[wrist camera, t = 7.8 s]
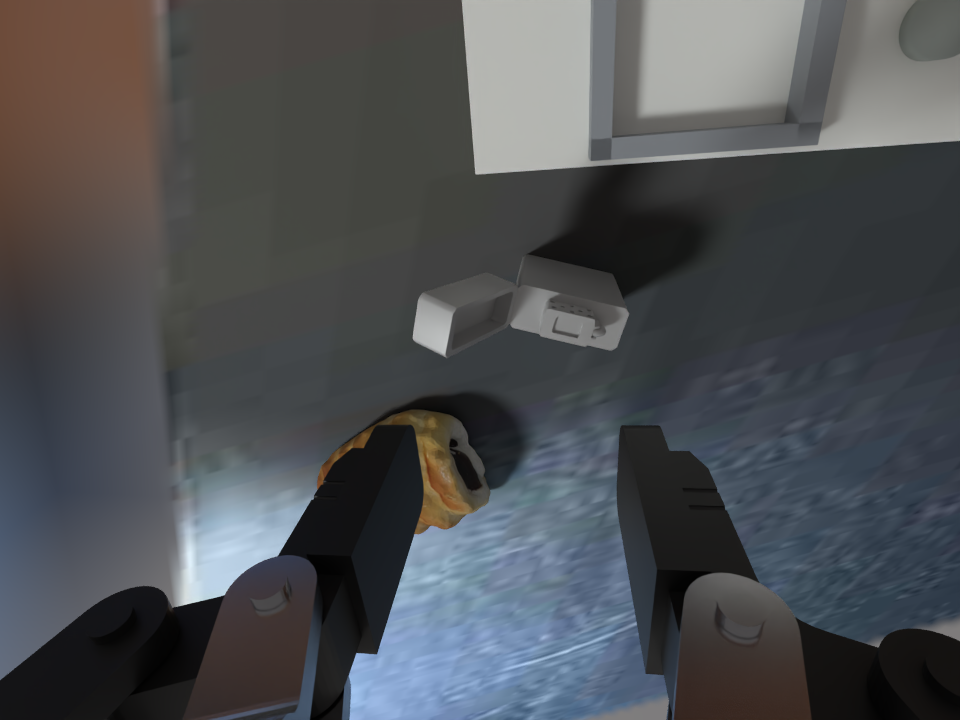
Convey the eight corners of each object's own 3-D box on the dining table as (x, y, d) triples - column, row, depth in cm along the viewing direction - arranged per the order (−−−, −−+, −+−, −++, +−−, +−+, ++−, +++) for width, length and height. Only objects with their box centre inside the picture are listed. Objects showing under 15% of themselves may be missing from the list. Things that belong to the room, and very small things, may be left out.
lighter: (616, 274, 22) (649, 354, 15) (603, 310, 23) (629, 403, 16) (457, 238, 22) (414, 300, 15) (450, 275, 23) (407, 351, 16)
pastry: (361, 523, 31) (338, 574, 28) (302, 437, 29) (269, 481, 25) (501, 486, 28) (494, 537, 25) (450, 387, 26) (435, 429, 22)
